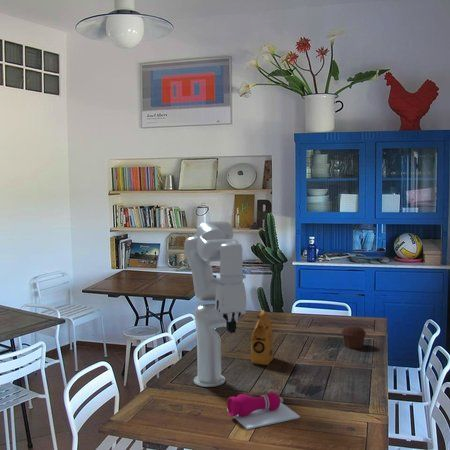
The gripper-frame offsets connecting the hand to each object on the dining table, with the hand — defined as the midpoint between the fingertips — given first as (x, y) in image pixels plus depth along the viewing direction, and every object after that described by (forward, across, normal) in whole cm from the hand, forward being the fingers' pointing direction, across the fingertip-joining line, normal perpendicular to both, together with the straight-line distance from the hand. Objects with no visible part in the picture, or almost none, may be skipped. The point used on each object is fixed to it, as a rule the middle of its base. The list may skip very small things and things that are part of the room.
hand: (231, 331), depth 180 cm
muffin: (+31, -86, -41) cm, 100 cm away
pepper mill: (+25, +2, +4) cm, 25 cm away
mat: (+29, -9, +6) cm, 31 cm away
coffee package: (+31, -36, -43) cm, 64 cm away
